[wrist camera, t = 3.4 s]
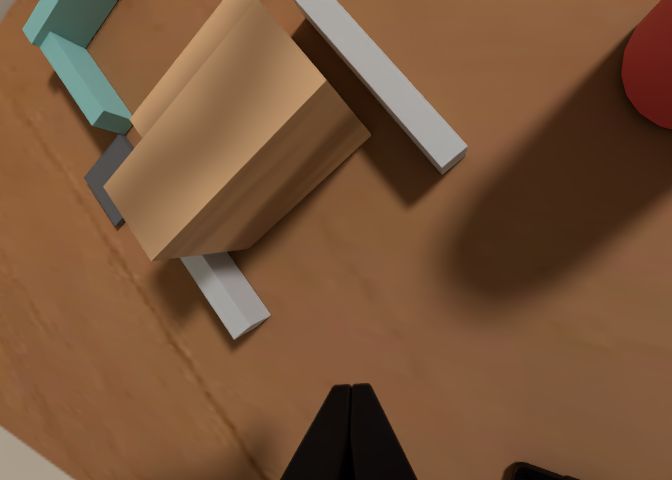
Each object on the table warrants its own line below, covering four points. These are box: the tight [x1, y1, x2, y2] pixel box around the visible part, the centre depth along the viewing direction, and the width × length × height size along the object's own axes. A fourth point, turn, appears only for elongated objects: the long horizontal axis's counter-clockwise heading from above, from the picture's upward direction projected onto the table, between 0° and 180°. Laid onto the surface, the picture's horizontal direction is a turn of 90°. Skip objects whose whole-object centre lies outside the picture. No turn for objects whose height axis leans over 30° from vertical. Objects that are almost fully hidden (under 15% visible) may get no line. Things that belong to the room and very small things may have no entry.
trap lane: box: [22, 0, 468, 339], centre depth 21 cm, size 28×27×3 cm
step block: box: [103, 0, 371, 261], centre depth 18 cm, size 11×11×8 cm
